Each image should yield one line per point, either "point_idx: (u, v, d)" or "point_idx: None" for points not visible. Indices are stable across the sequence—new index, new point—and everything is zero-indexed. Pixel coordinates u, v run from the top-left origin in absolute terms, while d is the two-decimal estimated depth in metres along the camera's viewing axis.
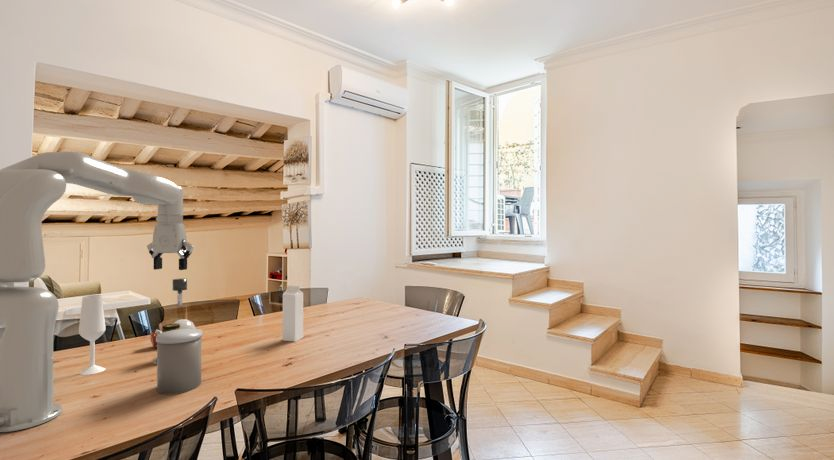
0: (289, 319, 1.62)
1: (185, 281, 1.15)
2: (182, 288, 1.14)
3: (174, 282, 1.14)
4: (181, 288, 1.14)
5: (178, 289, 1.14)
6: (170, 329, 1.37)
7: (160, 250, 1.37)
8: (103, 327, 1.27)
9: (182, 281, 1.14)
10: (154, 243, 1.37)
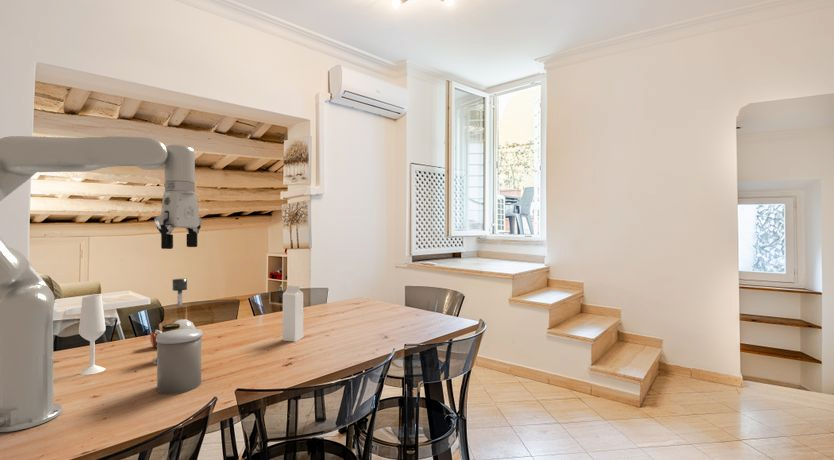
0: (289, 319, 1.62)
1: (185, 281, 1.15)
2: (182, 288, 1.14)
3: (174, 282, 1.14)
4: (181, 288, 1.14)
5: (178, 289, 1.14)
6: (170, 329, 1.37)
7: (184, 224, 1.14)
8: (103, 327, 1.27)
9: (182, 281, 1.14)
10: (178, 215, 1.11)
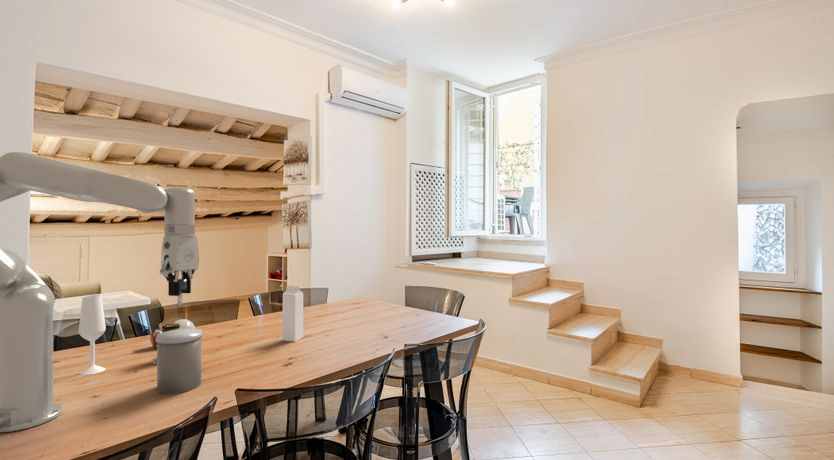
0: (289, 319, 1.62)
1: (185, 281, 1.15)
2: (182, 288, 1.14)
3: None
4: (181, 288, 1.14)
5: None
6: (170, 329, 1.37)
7: (184, 267, 1.14)
8: (103, 327, 1.27)
9: (182, 281, 1.14)
10: (178, 259, 1.11)
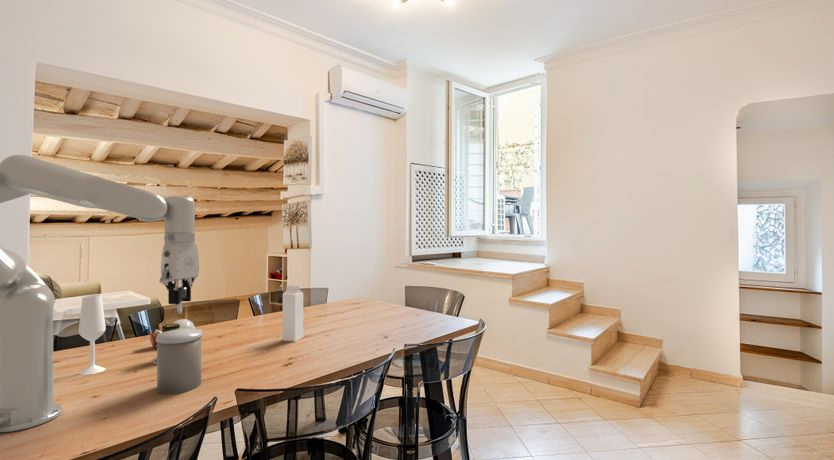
0: (289, 319, 1.62)
1: (185, 289, 1.15)
2: (182, 296, 1.14)
3: None
4: (181, 296, 1.14)
5: None
6: (170, 329, 1.37)
7: (184, 276, 1.14)
8: (103, 327, 1.27)
9: (182, 289, 1.14)
10: (178, 268, 1.11)
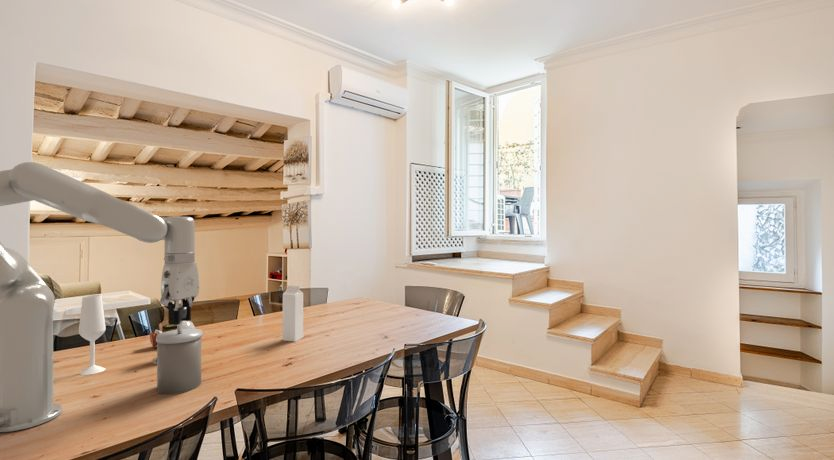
0: (289, 319, 1.62)
1: (185, 309, 1.15)
2: (182, 316, 1.15)
3: None
4: (181, 316, 1.14)
5: None
6: (170, 329, 1.37)
7: (184, 296, 1.14)
8: (103, 327, 1.27)
9: (182, 309, 1.14)
10: (178, 288, 1.11)
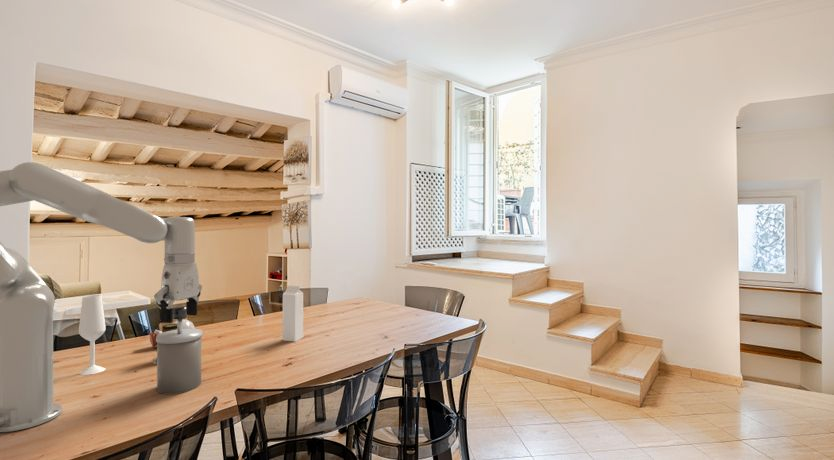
0: (289, 319, 1.62)
1: (185, 309, 1.15)
2: (182, 316, 1.15)
3: (174, 310, 1.14)
4: (181, 316, 1.14)
5: (178, 317, 1.14)
6: (170, 329, 1.37)
7: (184, 296, 1.14)
8: (103, 327, 1.27)
9: (182, 309, 1.14)
10: (178, 289, 1.11)
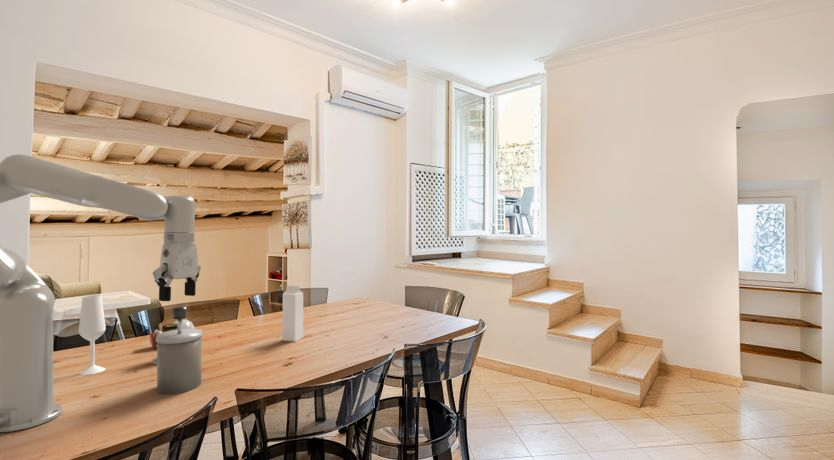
0: (289, 319, 1.62)
1: (185, 309, 1.15)
2: (182, 316, 1.15)
3: (174, 310, 1.14)
4: (181, 316, 1.14)
5: (178, 317, 1.14)
6: (170, 329, 1.37)
7: (183, 275, 1.13)
8: (103, 327, 1.27)
9: (182, 309, 1.14)
10: (177, 267, 1.11)
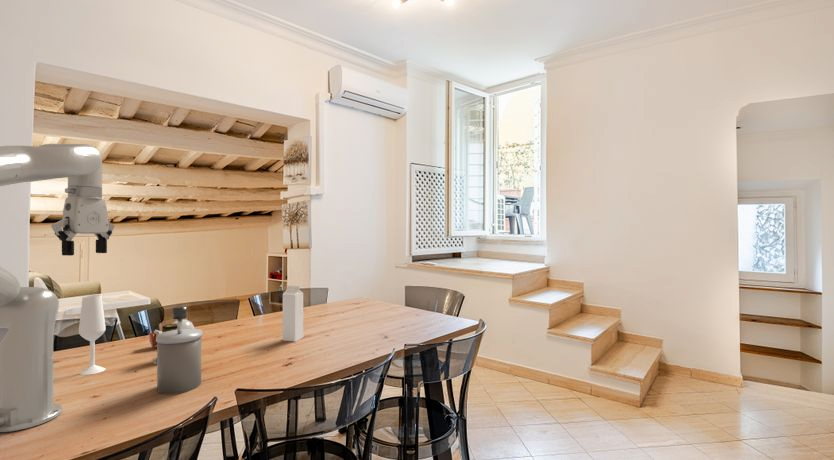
0: (289, 319, 1.62)
1: (185, 309, 1.15)
2: (182, 316, 1.15)
3: (174, 310, 1.14)
4: (181, 316, 1.14)
5: (178, 317, 1.14)
6: (170, 329, 1.37)
7: (88, 230, 1.11)
8: (103, 327, 1.27)
9: (182, 309, 1.14)
10: (80, 221, 1.09)
